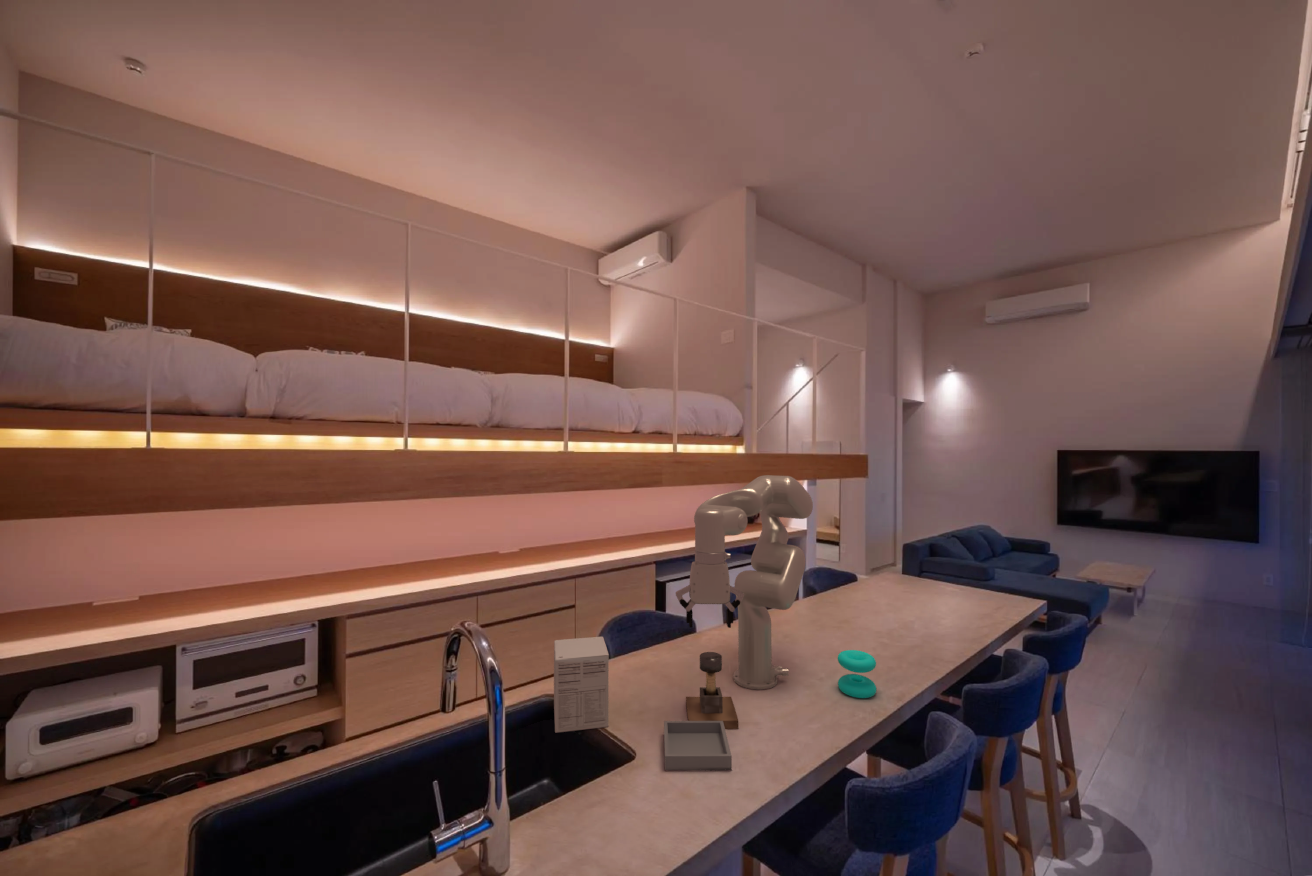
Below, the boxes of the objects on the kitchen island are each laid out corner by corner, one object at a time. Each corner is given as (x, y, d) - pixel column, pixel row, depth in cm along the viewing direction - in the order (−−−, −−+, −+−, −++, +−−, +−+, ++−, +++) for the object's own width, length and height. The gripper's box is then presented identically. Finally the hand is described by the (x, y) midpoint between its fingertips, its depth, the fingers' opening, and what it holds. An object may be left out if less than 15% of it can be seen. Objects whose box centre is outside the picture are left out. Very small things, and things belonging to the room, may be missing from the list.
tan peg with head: (720, 702, 132) (720, 651, 133) (723, 713, 127) (723, 660, 127) (698, 702, 132) (698, 651, 133) (700, 713, 127) (700, 660, 127)
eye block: (731, 704, 136) (731, 681, 136) (738, 729, 124) (738, 703, 124) (685, 704, 136) (685, 681, 136) (688, 729, 124) (688, 704, 124)
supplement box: (609, 727, 125) (609, 654, 125) (554, 734, 122) (554, 659, 122) (603, 701, 137) (603, 635, 138) (553, 706, 135) (553, 639, 135)
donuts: (866, 666, 136) (831, 655, 143) (867, 704, 136) (831, 691, 143) (882, 655, 143) (847, 645, 150) (882, 691, 142) (847, 680, 150)
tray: (723, 733, 122) (722, 720, 122) (731, 770, 108) (731, 756, 108) (664, 733, 122) (664, 721, 122) (665, 770, 108) (664, 756, 108)
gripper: (741, 555, 134) (741, 621, 133) (675, 554, 134) (674, 621, 134) (746, 561, 127) (746, 631, 126) (676, 560, 127) (676, 630, 126)
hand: (709, 626), depth 130 cm, fingers open, 9 cm apart
